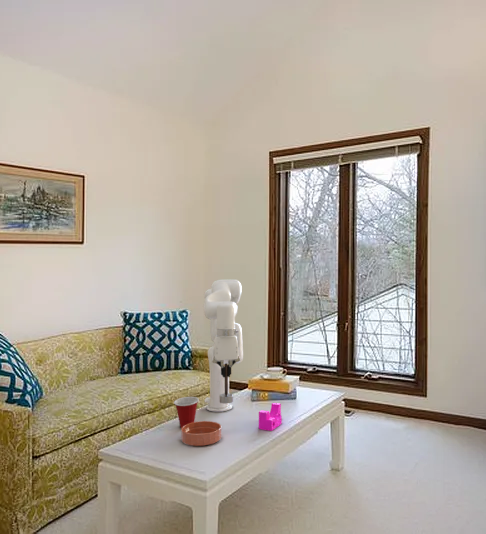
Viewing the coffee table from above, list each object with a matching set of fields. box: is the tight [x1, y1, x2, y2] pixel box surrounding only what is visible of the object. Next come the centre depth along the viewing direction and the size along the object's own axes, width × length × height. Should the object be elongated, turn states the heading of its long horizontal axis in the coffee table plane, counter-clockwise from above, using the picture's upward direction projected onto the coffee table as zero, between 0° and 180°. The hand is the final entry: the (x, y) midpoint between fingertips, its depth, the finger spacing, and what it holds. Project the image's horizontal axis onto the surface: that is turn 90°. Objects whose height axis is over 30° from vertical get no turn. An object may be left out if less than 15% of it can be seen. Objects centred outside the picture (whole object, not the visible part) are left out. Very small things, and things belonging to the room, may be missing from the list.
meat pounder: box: [220, 363, 234, 404], centre depth 206 cm, size 6×6×16 cm
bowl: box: [180, 420, 222, 447], centre depth 201 cm, size 16×16×5 cm
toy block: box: [258, 402, 283, 432], centre depth 220 cm, size 15×6×8 cm, turn 156°
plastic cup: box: [173, 396, 200, 429], centre depth 217 cm, size 11×11×12 cm
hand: (226, 376), depth 206 cm, fingers closed on meat pounder, 1 cm apart
